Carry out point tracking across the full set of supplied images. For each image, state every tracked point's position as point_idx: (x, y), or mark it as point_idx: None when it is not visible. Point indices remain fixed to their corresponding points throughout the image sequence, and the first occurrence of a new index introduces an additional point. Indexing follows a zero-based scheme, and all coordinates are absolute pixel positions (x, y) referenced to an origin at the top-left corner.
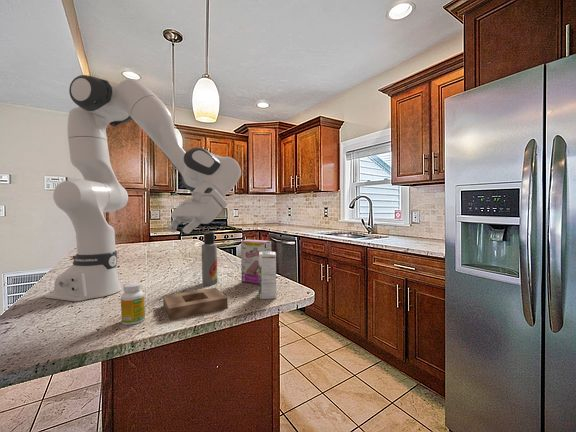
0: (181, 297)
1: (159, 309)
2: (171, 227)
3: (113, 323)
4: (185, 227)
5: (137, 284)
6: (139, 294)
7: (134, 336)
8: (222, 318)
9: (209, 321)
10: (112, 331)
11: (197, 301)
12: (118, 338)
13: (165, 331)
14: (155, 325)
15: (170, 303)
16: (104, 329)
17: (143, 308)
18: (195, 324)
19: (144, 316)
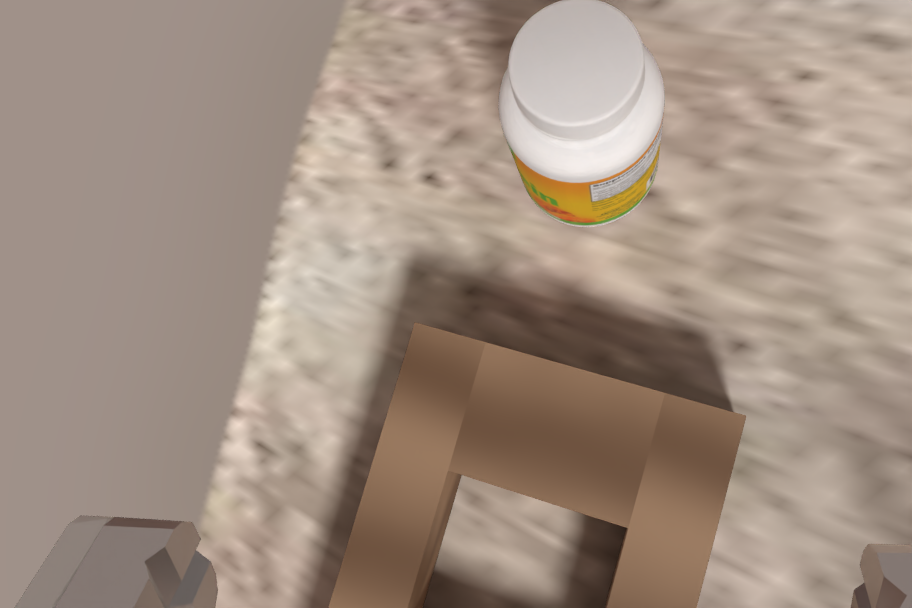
0: (585, 507)
1: (679, 365)
2: (893, 601)
3: None
4: (83, 567)
5: (546, 94)
6: (509, 124)
7: (360, 110)
8: None
9: (218, 497)
10: None
11: (393, 543)
12: (400, 44)
13: (292, 249)
14: (414, 239)
15: (511, 377)
16: None
17: (532, 189)
18: (245, 413)
19: (549, 213)
